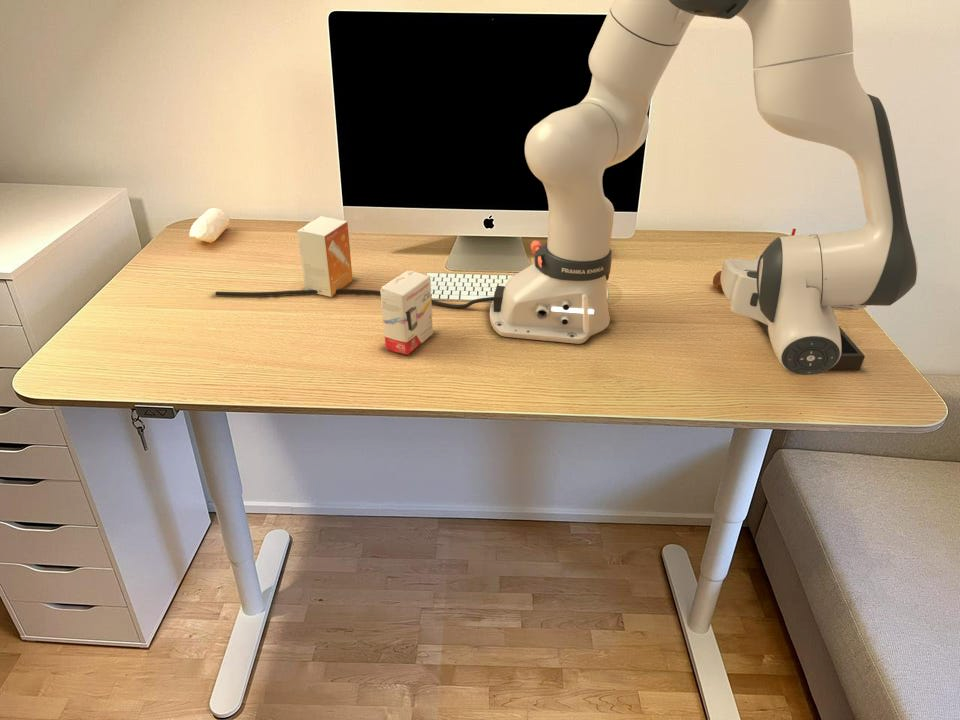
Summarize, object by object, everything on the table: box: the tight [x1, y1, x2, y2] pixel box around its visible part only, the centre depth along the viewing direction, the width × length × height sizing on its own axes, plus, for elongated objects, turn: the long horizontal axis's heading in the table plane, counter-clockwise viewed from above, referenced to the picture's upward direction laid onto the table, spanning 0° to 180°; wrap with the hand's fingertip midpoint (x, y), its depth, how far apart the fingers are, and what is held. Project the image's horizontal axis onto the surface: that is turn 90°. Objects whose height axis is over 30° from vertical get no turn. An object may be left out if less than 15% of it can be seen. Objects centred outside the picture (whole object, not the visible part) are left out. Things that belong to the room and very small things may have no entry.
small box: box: [297, 215, 354, 298], centre depth 139 cm, size 8×6×13 cm
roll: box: [189, 207, 231, 244], centre depth 158 cm, size 6×12×6 cm, turn 176°
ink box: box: [379, 269, 434, 356], centre depth 123 cm, size 9×5×12 cm, turn 150°
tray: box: [756, 320, 866, 372], centre depth 126 cm, size 12×17×3 cm
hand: (784, 261), depth 116 cm, fingers closed on beverage cup, 6 cm apart
